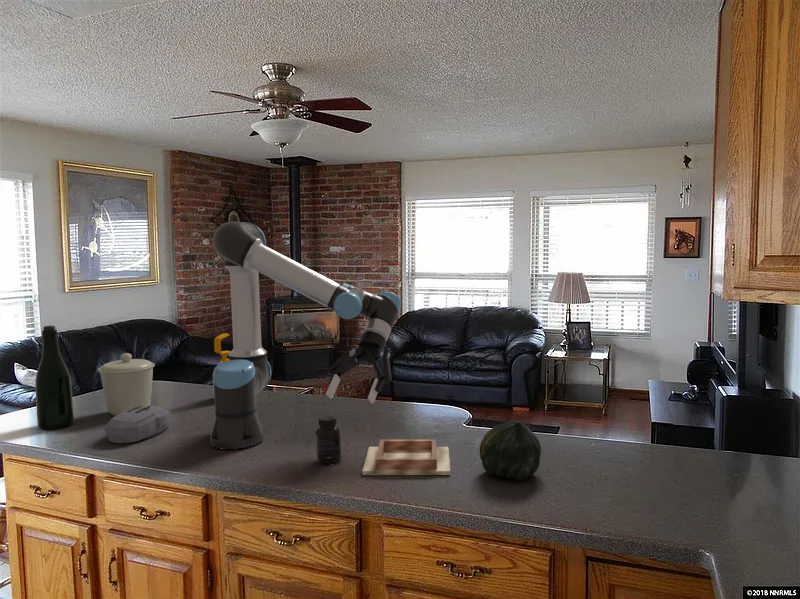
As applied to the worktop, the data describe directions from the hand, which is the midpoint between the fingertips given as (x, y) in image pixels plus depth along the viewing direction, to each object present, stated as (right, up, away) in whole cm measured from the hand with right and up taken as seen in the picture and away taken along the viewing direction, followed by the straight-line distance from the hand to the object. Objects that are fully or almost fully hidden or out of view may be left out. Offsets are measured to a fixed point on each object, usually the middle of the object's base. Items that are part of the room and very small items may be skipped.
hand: (349, 398), depth 171 cm
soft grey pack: (-67, -14, +18) cm, 71 cm away
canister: (-80, -12, +43) cm, 92 cm away
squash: (+42, -16, -19) cm, 48 cm away
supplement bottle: (-5, -16, -7) cm, 18 cm away
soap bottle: (-52, -10, +61) cm, 80 cm away
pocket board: (+16, -15, -9) cm, 24 cm away
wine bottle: (-98, -14, +29) cm, 103 cm away
